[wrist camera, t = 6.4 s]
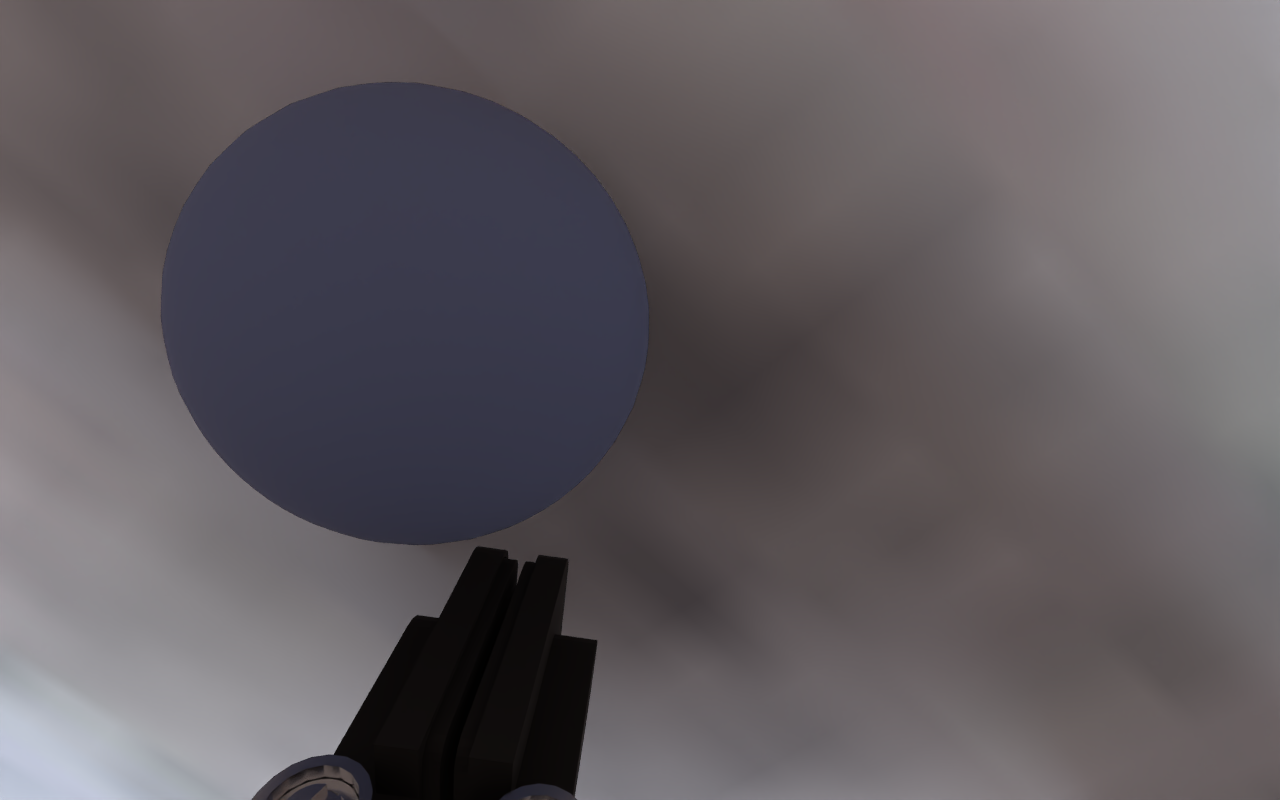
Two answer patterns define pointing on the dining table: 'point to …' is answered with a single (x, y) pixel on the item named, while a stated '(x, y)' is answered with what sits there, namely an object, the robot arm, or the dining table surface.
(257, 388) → the dark blue ball
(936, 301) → the dining table surface
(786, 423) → the dining table surface
